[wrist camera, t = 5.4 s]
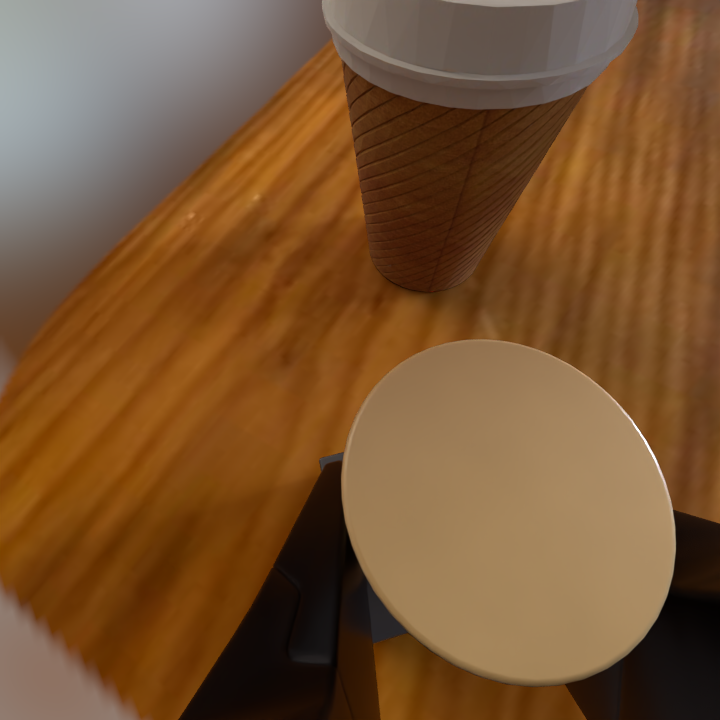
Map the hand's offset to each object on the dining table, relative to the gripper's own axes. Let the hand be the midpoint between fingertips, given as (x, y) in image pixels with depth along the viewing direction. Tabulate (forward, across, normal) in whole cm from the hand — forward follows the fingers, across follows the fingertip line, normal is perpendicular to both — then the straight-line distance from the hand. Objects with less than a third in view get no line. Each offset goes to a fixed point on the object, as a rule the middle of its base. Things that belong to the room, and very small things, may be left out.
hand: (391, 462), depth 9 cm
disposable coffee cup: (+13, -6, -4) cm, 15 cm away
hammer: (+4, 0, +6) cm, 7 cm away
